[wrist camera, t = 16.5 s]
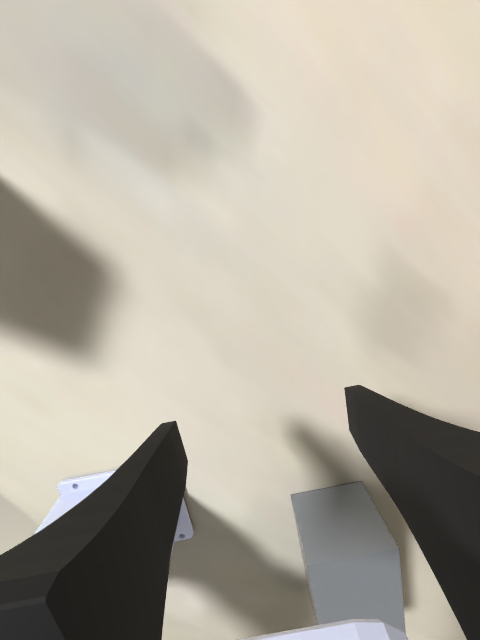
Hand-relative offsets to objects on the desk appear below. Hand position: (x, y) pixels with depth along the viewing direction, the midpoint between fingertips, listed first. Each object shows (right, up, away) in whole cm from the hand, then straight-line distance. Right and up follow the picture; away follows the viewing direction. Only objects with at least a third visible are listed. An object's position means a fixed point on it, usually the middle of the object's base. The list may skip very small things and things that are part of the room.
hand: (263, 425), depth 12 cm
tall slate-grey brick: (+8, -16, +14) cm, 22 cm away
